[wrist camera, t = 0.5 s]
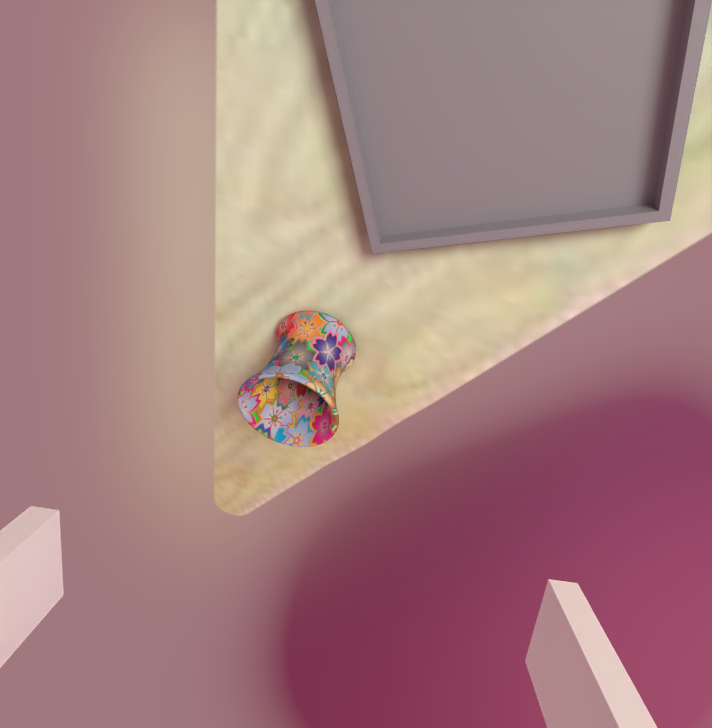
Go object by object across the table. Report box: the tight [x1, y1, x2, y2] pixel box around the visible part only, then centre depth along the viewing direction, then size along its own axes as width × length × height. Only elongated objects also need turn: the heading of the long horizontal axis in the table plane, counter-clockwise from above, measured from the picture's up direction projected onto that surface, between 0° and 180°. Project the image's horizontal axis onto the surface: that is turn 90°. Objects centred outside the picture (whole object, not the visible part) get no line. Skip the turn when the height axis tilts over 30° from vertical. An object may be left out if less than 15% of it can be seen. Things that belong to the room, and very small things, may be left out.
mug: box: [238, 311, 356, 447], centre depth 47 cm, size 12×9×11 cm
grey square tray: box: [315, 0, 712, 254], centre depth 31 cm, size 22×22×2 cm
